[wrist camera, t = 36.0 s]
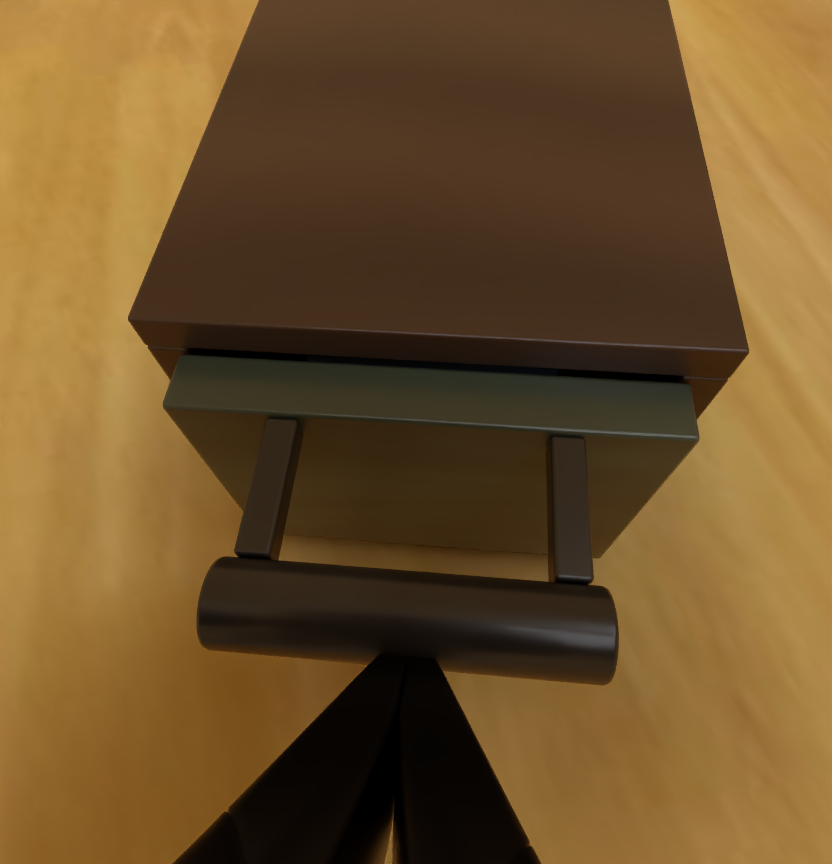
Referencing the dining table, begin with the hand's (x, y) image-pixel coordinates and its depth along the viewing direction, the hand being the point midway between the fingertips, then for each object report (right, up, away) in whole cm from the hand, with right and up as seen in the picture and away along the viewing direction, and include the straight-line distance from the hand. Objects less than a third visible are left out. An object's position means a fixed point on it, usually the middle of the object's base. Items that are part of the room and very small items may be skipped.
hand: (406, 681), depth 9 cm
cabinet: (+1, +7, +12) cm, 14 cm away
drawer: (+1, +4, +10) cm, 11 cm away
